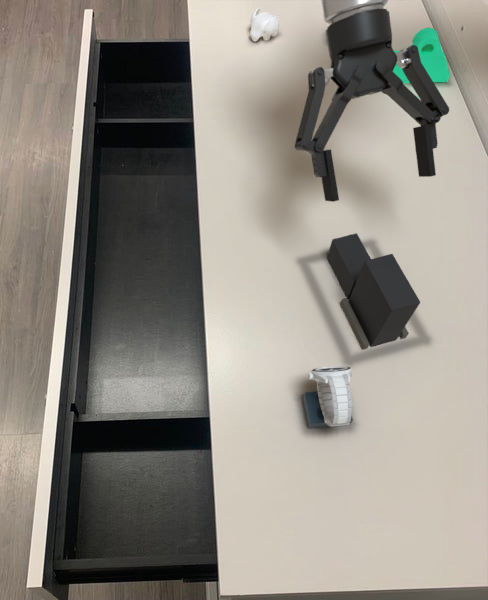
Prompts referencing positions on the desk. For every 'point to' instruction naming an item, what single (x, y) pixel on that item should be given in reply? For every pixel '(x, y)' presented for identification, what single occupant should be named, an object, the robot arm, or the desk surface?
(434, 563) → the desk surface
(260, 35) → the elephant figurine
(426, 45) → the camera mount
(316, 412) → the watch
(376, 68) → the robot arm
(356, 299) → the block
